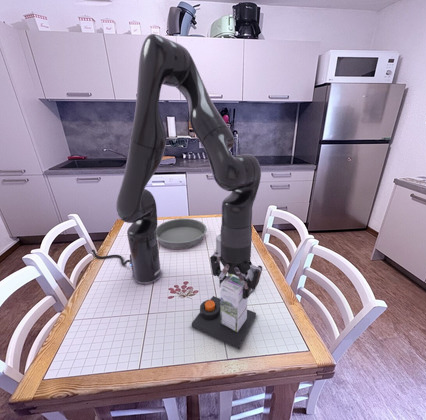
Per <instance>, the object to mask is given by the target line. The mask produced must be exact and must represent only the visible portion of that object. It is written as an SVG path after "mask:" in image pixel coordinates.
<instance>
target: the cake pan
mask: <svg viewBox="0 0 426 420" xmlns="http://www.w3.org/2000/svg"><path fill="white" fill-rule="evenodd" d="M207 231H208V228H207V225H206V223H203V222H202V221H200V220H197V219H192V218H177V219H171V220H167V221H165V222H162V223H161V224H159V225H157V229H156V236H157V241H158V242H159V244H160V245H161V246H163V247H164V248H168V249H172V250H183V249H190V248H192V247H194V246H197V245H198V244H200V243H201V242H203V239H204V236H205V235H206V233H207Z"/></svg>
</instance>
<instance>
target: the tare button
mask: <svg viewBox="0 0 426 420" xmlns="http://www.w3.org/2000/svg"><path fill="white" fill-rule="evenodd" d="M208 300H209V301H207V302H206V303H205V310H206V311H208V312H212V311H213V310H214V309H215V302H214V301H211V300H210V299H208Z"/></svg>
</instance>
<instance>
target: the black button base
mask: <svg viewBox="0 0 426 420" xmlns="http://www.w3.org/2000/svg"><path fill="white" fill-rule="evenodd" d="M209 300H211V301H214V302H215V309H214V310H213V311H212V312H208V311H206V310H205V303H206V302H207V301H209ZM256 316H257V312H255V311H254V310H253V311H252V310H251V309H247V319H246V321H245V322H244V323H243V325H242V326H241V328H240V329H239V330H238V332H235V331H234V330H232V329H230V328H228V327H227V326H225V325H223V324H221V299H220V297H218V296H214V295H212V297H211V298H210V299H206V300H204V301H202V302H201V304H200V305H199V313H198V315H197V316H196V317H195V318H194V320H192V322H191V328H192V329H194V330H197V331H199V332H201V333H203V334H205V335H208V336H210V337H211V338H213V339H215V340H218V341H220V342H222V343H224V344H226V345H229V346H230V347H233V348H235V349H237V350H241V347H242V345H243V343H244V341H245V339H246V337H247V335H248V333H249V332H250V329H251V328H252V325H253V324H254V321H255V319H256Z"/></svg>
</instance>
